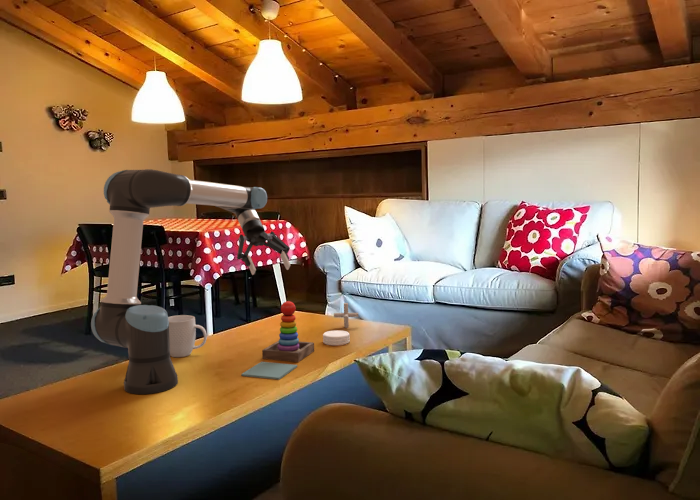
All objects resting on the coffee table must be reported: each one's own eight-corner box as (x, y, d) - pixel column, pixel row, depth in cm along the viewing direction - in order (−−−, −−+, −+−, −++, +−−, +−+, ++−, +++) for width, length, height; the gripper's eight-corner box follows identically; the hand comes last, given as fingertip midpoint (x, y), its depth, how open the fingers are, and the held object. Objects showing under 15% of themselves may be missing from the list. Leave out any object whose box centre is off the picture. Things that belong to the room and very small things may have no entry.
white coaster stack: (333, 337, 224) (333, 328, 224) (354, 341, 218) (354, 332, 218) (317, 343, 216) (317, 334, 215) (339, 347, 210) (339, 338, 210)
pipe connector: (358, 330, 234) (358, 305, 233) (333, 330, 234) (333, 306, 233) (358, 324, 244) (358, 300, 243) (334, 324, 244) (334, 301, 243)
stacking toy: (299, 357, 198) (297, 303, 196) (275, 358, 198) (273, 304, 196) (301, 351, 205) (299, 299, 203) (278, 351, 206) (277, 299, 204)
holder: (298, 361, 193) (298, 353, 193) (262, 358, 198) (262, 350, 197) (314, 350, 206) (314, 342, 205) (280, 348, 210) (279, 339, 210)
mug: (210, 349, 210) (209, 314, 209) (204, 358, 199) (202, 321, 198) (169, 350, 210) (167, 315, 208) (160, 359, 199) (158, 322, 197)
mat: (279, 379, 176) (279, 377, 176) (241, 375, 180) (241, 373, 180) (297, 366, 188) (297, 364, 188) (261, 363, 192) (261, 361, 192)
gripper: (278, 228, 226) (299, 271, 216) (217, 234, 212) (236, 281, 202) (284, 215, 221) (305, 259, 211) (221, 221, 207) (241, 267, 197)
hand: (271, 270), depth 206 cm, fingers open, 13 cm apart
